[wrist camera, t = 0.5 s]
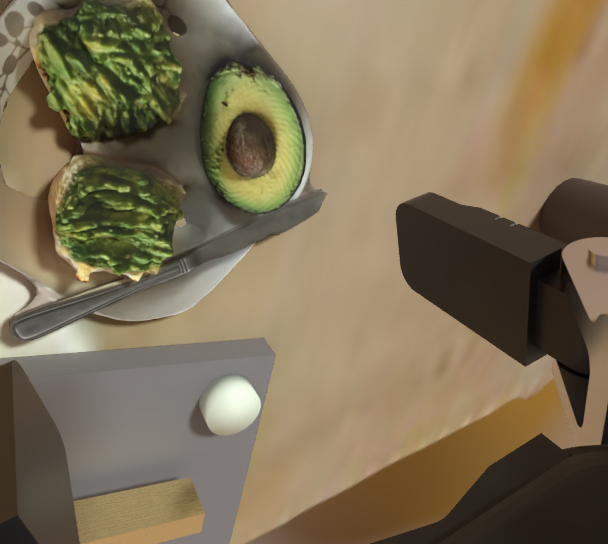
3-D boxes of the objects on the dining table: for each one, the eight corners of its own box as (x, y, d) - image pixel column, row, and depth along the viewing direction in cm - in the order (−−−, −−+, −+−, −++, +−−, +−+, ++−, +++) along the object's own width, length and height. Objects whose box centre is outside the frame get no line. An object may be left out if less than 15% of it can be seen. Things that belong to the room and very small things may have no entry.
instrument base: (-150, 370, 26) (-166, 419, 23) (263, 338, 37) (286, 369, 34) (-118, 611, 33) (-127, 671, 30) (221, 523, 44) (236, 561, 41)
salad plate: (129, 381, 34) (146, 430, 30) (-197, 210, 22) (-231, 258, 19) (343, 160, 34) (385, 184, 30) (125, -126, 22) (151, -141, 19)
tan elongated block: (-82, 494, 28) (-91, 561, 25) (189, 446, 35) (209, 493, 32) (-77, 560, 30) (-84, 629, 27) (179, 501, 37) (196, 550, 34)
